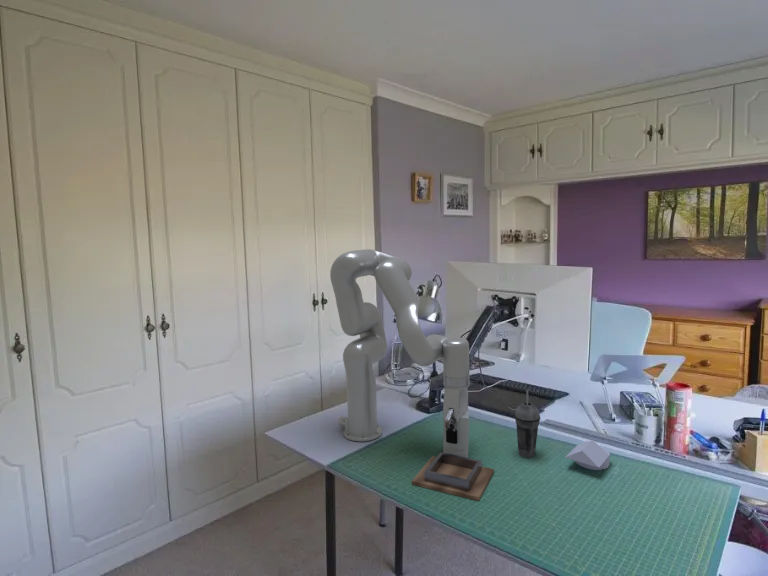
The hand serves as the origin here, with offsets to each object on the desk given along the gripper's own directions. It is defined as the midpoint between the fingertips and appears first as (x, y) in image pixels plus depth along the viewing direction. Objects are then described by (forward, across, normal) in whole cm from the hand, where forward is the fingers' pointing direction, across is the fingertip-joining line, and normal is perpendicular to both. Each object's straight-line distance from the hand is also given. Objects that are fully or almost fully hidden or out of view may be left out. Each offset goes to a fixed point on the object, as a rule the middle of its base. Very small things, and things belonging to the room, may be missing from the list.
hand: (457, 436), depth 142 cm
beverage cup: (+6, -8, +19) cm, 21 cm away
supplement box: (+6, 0, 0) cm, 6 cm away
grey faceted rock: (+6, -9, +36) cm, 37 cm away
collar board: (+5, +14, +4) cm, 15 cm away
